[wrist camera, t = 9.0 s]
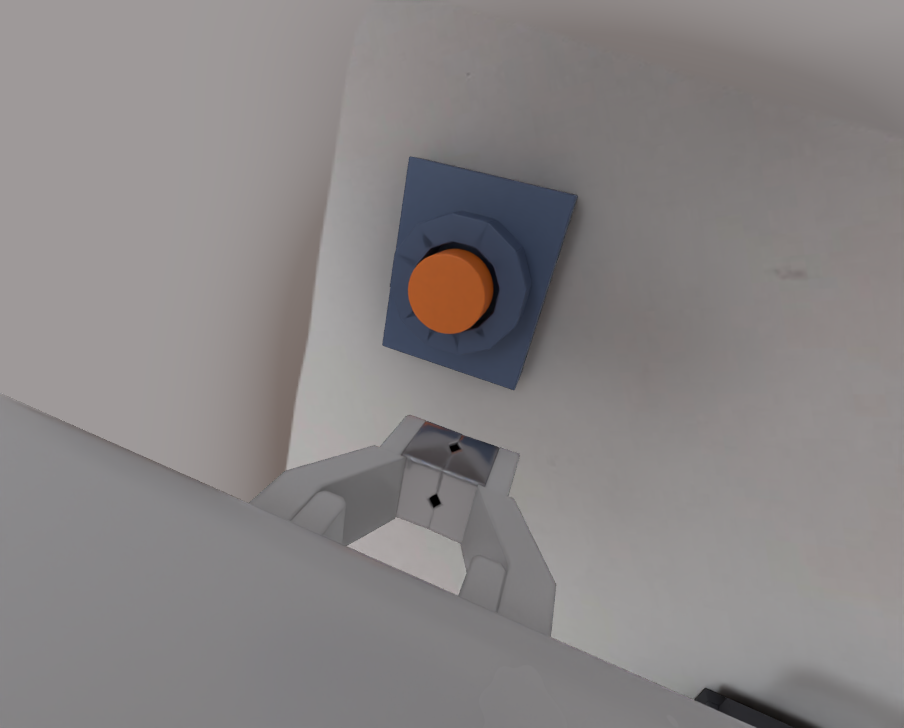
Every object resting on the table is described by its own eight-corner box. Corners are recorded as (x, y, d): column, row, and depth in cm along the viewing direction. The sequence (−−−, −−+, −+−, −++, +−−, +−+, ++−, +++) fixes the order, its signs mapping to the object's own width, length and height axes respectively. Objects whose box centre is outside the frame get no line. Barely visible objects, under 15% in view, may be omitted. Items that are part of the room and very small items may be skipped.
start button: (428, 239, 19) (414, 243, 18) (502, 259, 18) (494, 266, 17) (416, 311, 21) (401, 321, 19) (483, 332, 20) (474, 344, 18)
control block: (422, 158, 21) (391, 153, 18) (578, 195, 19) (574, 196, 16) (394, 336, 25) (366, 356, 22) (519, 378, 24) (507, 406, 21)
